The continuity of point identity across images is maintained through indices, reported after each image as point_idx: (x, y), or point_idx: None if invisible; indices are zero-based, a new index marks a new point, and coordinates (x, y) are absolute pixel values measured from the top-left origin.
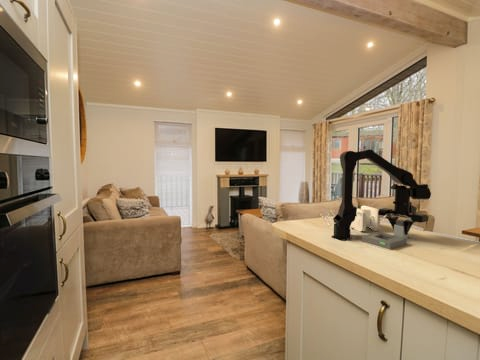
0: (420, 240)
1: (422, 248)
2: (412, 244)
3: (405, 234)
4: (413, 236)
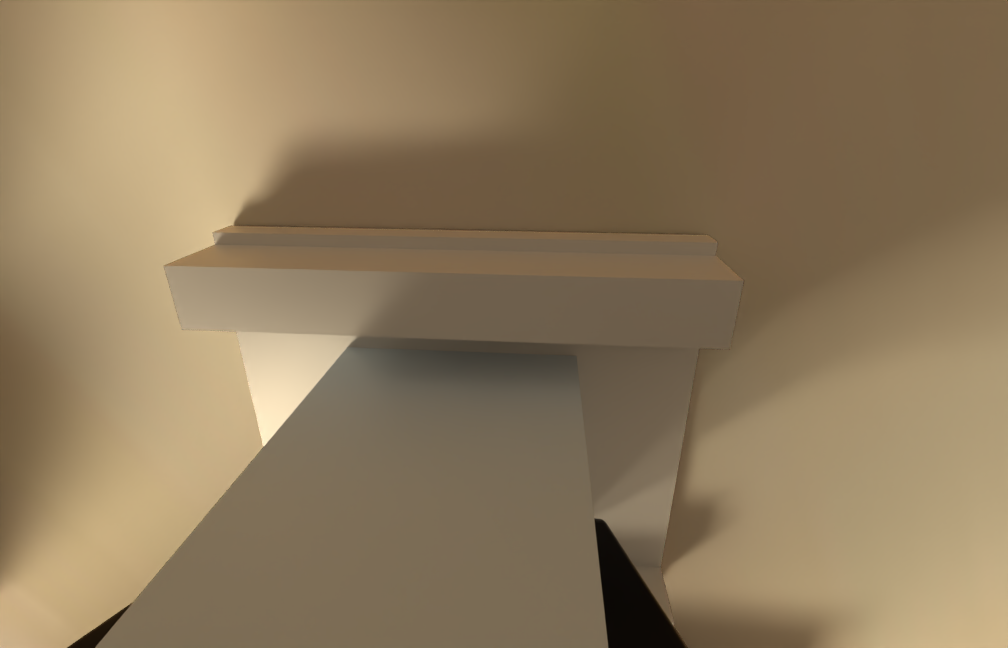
0: (826, 123)
1: (967, 643)
2: (769, 566)
3: None
4: (712, 323)
